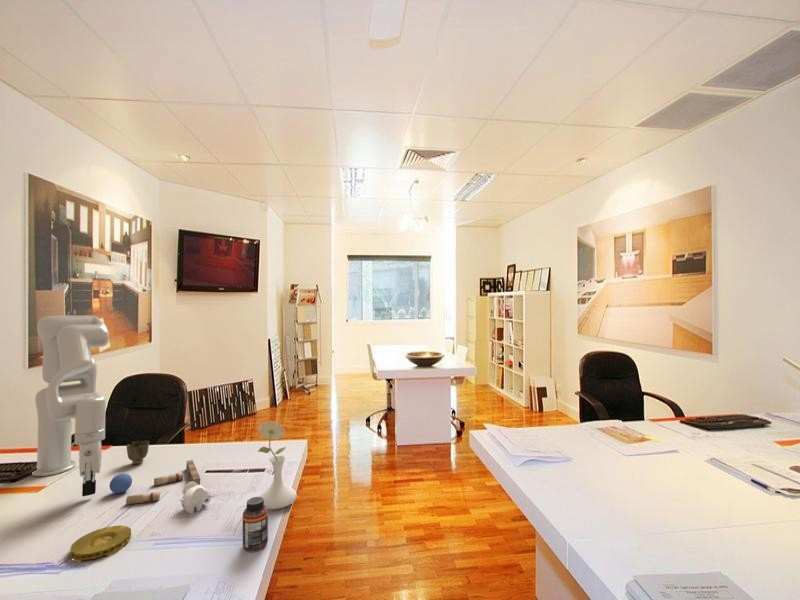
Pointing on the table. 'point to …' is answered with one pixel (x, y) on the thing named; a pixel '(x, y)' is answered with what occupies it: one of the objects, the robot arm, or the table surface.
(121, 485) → the ball
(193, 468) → the wooden plank
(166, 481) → the rear pin
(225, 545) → the table surface
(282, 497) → the flower in vase
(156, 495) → the front pin
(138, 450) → the cup
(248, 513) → the supplement bottle
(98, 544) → the gold brake disc
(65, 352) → the robot arm
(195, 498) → the elephant figurine
